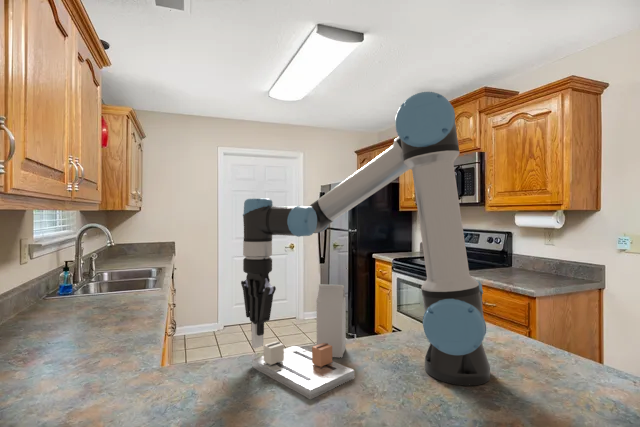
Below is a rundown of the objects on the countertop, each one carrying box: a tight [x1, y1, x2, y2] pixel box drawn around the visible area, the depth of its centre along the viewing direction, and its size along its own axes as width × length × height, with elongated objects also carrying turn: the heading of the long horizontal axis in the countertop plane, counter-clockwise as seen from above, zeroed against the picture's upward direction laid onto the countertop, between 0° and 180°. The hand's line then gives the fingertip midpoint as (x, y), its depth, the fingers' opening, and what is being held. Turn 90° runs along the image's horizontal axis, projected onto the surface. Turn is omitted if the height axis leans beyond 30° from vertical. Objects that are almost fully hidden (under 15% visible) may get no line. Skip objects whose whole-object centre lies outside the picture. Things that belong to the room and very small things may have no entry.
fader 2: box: [311, 343, 333, 367], centre depth 90 cm, size 3×4×4 cm
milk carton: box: [316, 283, 347, 359], centre depth 102 cm, size 7×7×19 cm
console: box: [251, 345, 355, 400], centre depth 89 cm, size 22×14×2 cm, turn 44°
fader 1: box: [263, 340, 285, 365], centre depth 91 cm, size 3×4×4 cm
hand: (257, 346), depth 96 cm, fingers closed
